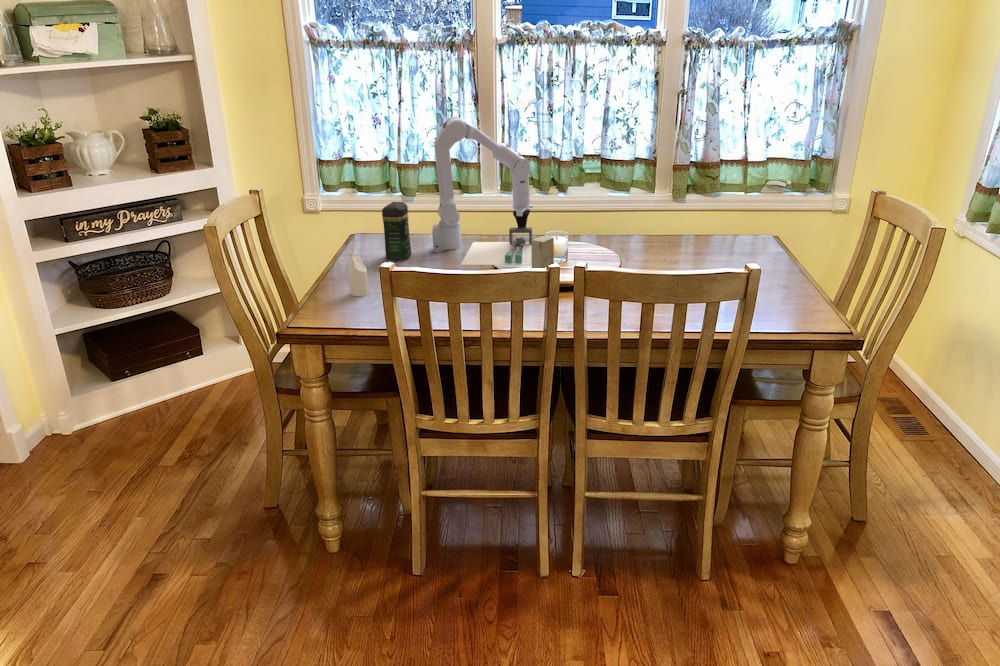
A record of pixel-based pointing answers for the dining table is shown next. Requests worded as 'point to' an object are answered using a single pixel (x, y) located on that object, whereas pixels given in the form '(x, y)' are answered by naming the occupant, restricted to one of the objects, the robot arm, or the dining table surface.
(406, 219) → the coffee jar
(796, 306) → the dining table surface
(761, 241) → the dining table surface
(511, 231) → the grey u-shaped bracket
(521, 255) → the tongs fixed
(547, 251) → the skincare box
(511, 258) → the tong arm
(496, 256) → the board
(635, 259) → the dining table surface
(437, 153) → the robot arm
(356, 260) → the cream carton
